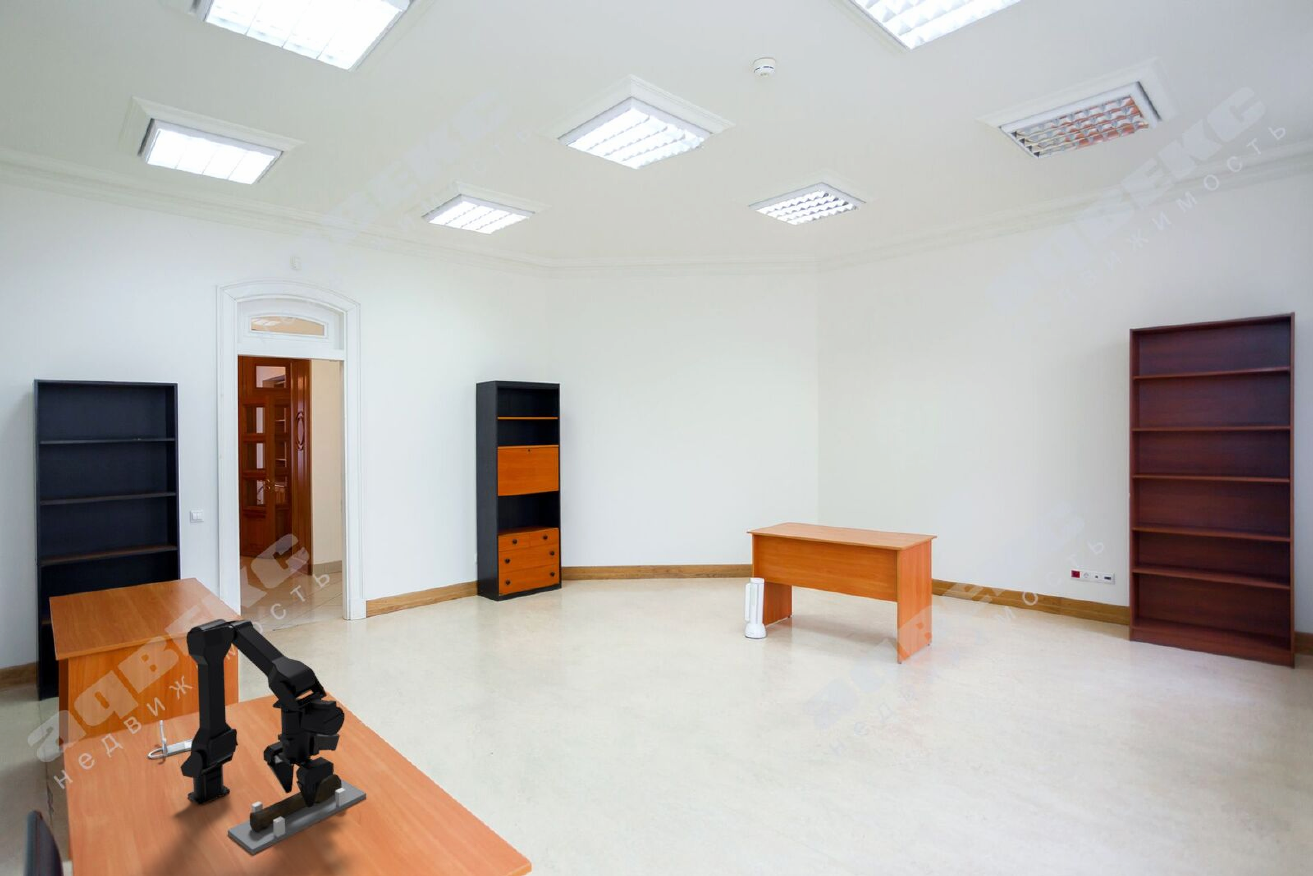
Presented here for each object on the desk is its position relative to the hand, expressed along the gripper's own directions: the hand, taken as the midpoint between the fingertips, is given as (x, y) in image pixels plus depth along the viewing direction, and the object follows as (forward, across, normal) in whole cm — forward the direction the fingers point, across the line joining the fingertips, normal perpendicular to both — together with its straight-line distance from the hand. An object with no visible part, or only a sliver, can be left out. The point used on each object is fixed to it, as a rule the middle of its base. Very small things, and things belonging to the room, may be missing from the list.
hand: (299, 799), depth 149 cm
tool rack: (+4, 0, 0) cm, 4 cm away
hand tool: (+3, +1, 0) cm, 3 cm away
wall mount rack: (+4, +57, +2) cm, 57 cm away
